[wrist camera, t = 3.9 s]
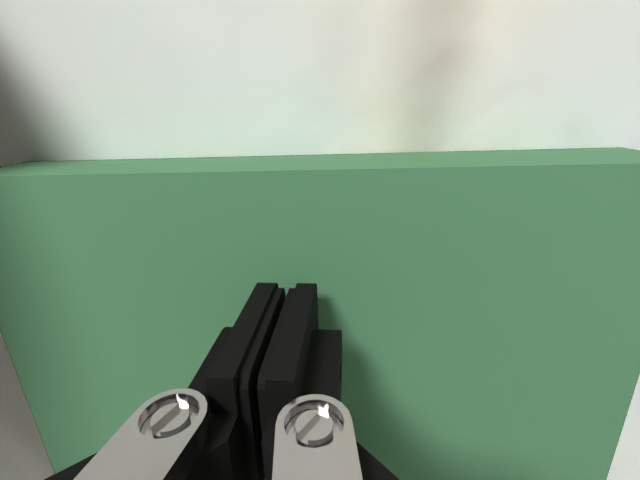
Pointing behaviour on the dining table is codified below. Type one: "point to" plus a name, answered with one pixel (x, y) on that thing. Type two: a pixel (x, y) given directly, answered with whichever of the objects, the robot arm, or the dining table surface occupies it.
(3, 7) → the dining table surface
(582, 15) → the dining table surface
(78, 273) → the board
